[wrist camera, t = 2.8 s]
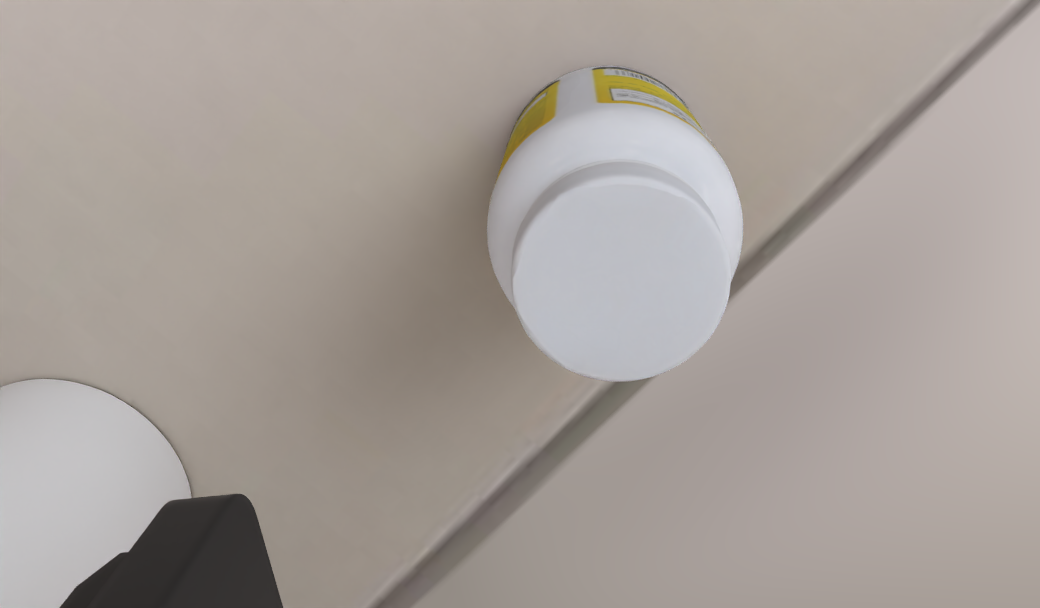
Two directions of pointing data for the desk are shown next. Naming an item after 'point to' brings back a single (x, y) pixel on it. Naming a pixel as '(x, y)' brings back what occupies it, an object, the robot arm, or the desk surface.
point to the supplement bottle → (614, 225)
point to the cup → (74, 486)
